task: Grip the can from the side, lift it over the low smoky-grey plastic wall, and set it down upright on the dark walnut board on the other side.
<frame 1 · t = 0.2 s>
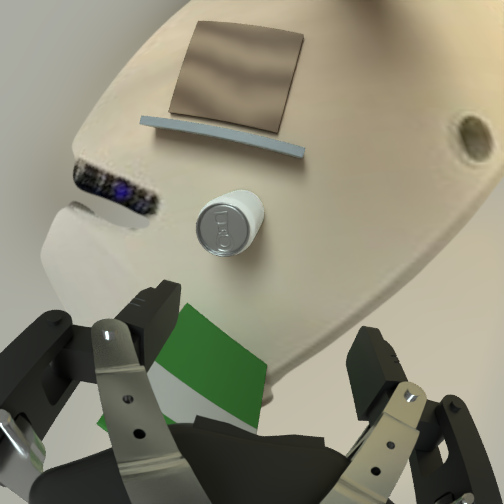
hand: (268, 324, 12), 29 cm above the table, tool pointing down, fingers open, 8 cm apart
hardback book: (215, 346, 47), on the table
walnut board: (235, 70, 34), on the table
low wall: (224, 135, 37), on the table
can: (242, 211, 40), on the table
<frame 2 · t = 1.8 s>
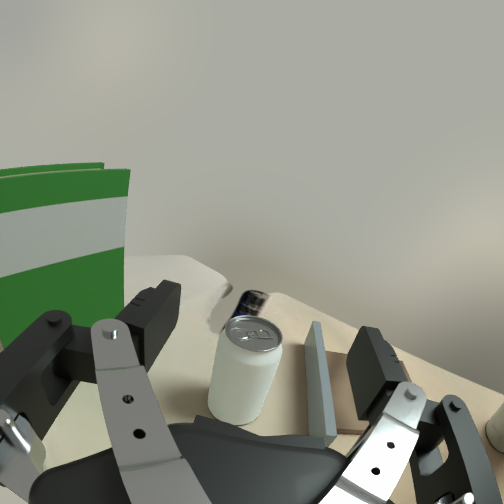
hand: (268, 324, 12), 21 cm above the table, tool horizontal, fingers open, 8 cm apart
hardback book: (64, 352, 30), on the table
walnut board: (372, 393, 35), on the table
low wall: (310, 392, 35), on the table
can: (233, 407, 30), on the table
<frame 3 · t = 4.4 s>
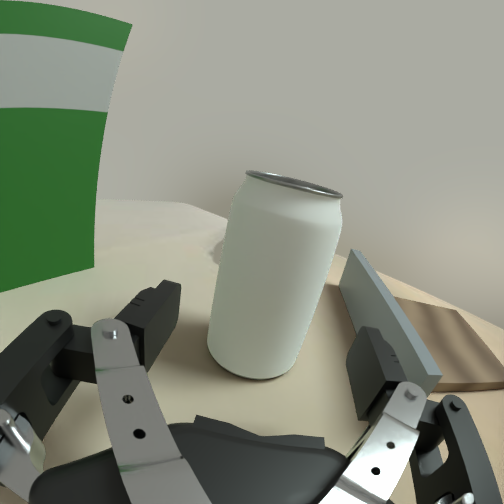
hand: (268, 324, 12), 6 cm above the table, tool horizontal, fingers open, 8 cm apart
hardback book: (10, 272, 19), on the table
walnut board: (436, 342, 24), on the table
low wall: (362, 336, 24), on the table
can: (250, 353, 19), on the table
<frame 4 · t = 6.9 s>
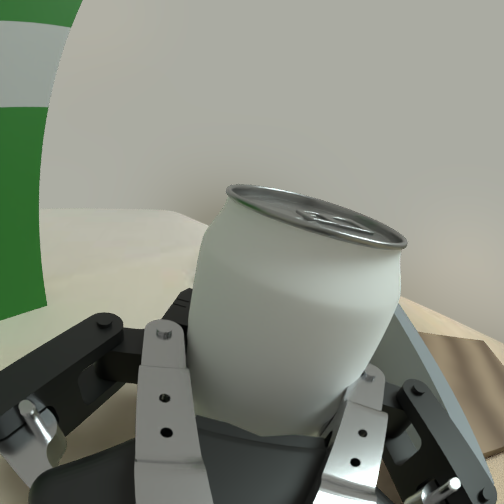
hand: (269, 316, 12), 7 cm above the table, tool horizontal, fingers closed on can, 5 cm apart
walnut board: (467, 390, 17), on the table
low wall: (385, 398, 16), on the table
can: (238, 441, 12), on the table, touching gripper
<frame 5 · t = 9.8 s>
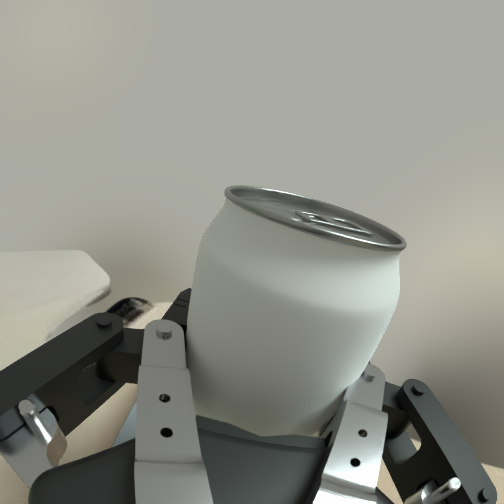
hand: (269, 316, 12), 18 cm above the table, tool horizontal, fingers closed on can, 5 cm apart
low wall: (128, 473, 16), on the table
can: (237, 442, 12), point 11 cm above the table, touching gripper
when the fingers open (9 cm above the table, at t = 12.7 s): can drops 1 cm, resting on walnut board.
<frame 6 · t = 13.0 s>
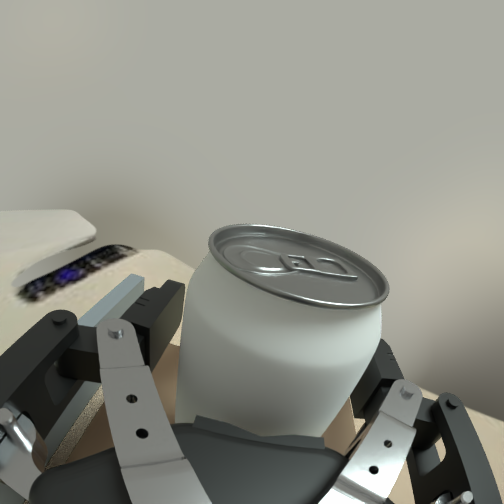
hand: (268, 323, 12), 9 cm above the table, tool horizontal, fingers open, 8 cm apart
walnut board: (228, 458, 13), on the table
low wall: (70, 413, 12), on the table
can: (232, 454, 13), point 1 cm above the table, touching walnut board
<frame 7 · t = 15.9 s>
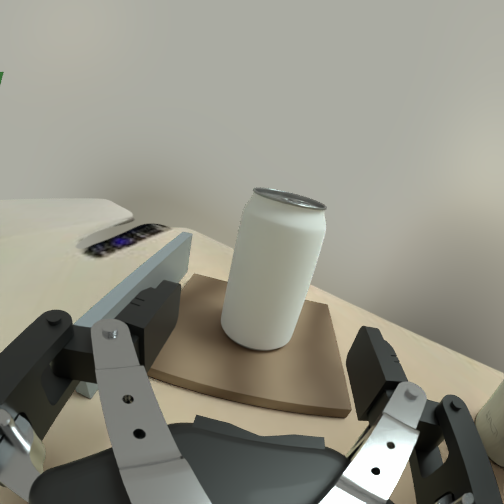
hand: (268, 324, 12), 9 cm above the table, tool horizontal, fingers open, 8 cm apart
walnut board: (251, 337, 25), on the table
low wall: (145, 315, 24), on the table
can: (255, 331, 25), point 1 cm above the table, touching walnut board
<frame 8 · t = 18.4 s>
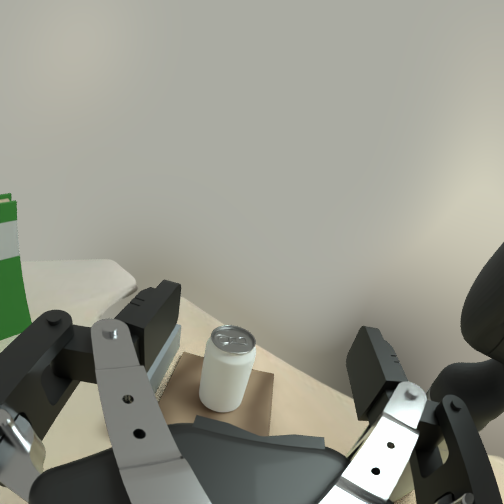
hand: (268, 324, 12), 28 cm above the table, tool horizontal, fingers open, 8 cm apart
walnut board: (218, 400, 38), on the table
low wall: (154, 386, 38), on the table
can: (219, 398, 38), point 1 cm above the table, touching walnut board
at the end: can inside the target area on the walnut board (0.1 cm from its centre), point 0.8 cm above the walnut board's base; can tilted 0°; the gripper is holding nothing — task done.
